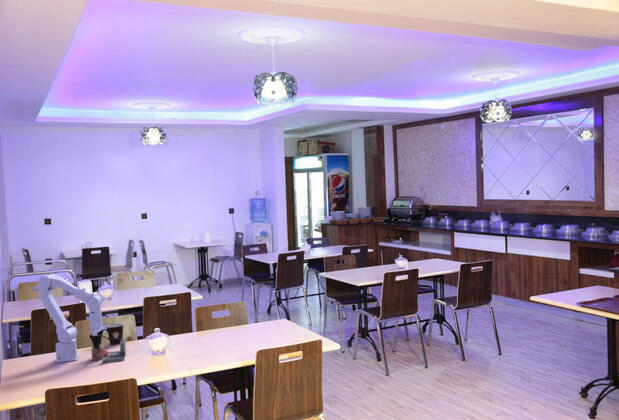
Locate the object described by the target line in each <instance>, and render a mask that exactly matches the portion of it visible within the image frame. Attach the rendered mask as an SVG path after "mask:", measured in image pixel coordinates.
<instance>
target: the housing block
mask: <svg viewBox="0 0 619 420" xmlns="http://www.w3.org/2000/svg"><path fill="white" fill-rule="evenodd" d="M103 350H105V349H104V344H101V345H99V349H94V346H93V345H92V347H91V361H100V360H102V356H103Z"/></svg>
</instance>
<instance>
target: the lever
mask: <svg viewBox="0 0 619 420" xmlns="http://www.w3.org/2000/svg"><path fill="white" fill-rule="evenodd" d="M108 352H109V350H108V349H104V350H103V356H102V359H101V360H106V359H109V355H108Z"/></svg>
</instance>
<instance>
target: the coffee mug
mask: <svg viewBox="0 0 619 420" xmlns="http://www.w3.org/2000/svg"><path fill="white" fill-rule="evenodd" d="M104 331H105V332H107V335H108V337H107V336H105V335H103V334H102V338H104V339H106V340H108V341H109V345H111V346H118V345H120V342H121V340H123V337H124V323H121V322H120V323H119V322H118V323H117V322H116V323H111V324H108V325H107V326H106V328H105V329H104ZM117 344H118V345H117Z"/></svg>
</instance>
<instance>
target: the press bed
mask: <svg viewBox="0 0 619 420" xmlns="http://www.w3.org/2000/svg"><path fill="white" fill-rule="evenodd" d="M126 347H127V346H126V339H125V338H124V339H123V340H121V342H120V344H119V350H118V351H108V355H109V359H106V360H102V359H101V360H102V361H101V362H102V364H105V363H114V362H124V361H125V357H126V355H127V348H126Z"/></svg>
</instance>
